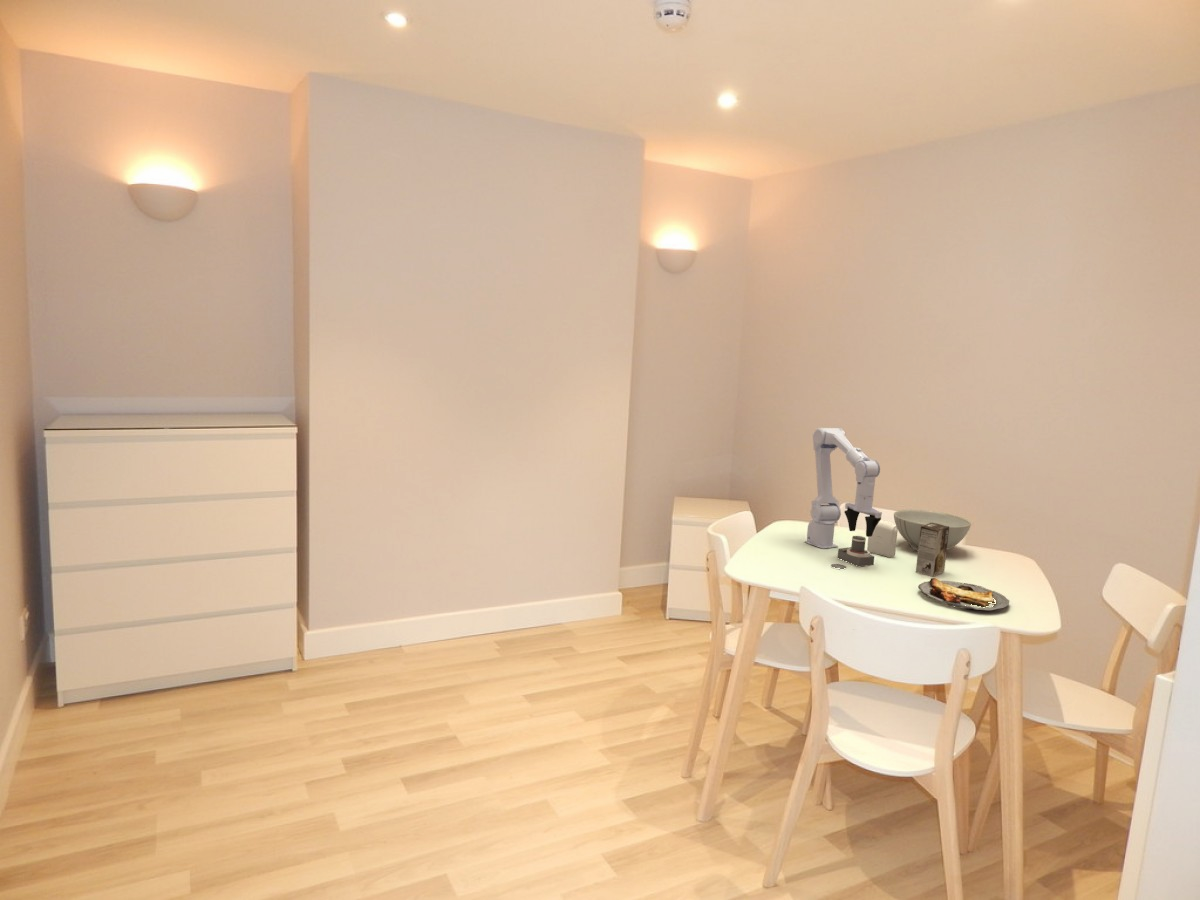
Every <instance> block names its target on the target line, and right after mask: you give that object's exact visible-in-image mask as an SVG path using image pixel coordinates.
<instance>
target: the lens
mask: <svg viewBox="0 0 1200 900" xmlns="http://www.w3.org/2000/svg"><path fill="white" fill-rule="evenodd" d="M866 541H867V537H865V536H862V535H852V537H851V546H850V547H851V552H854V553H858V554H864V552H865V551H864V550H866V549H865V548H866Z"/></svg>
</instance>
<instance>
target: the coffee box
mask: <svg viewBox="0 0 1200 900" xmlns="http://www.w3.org/2000/svg"><path fill="white" fill-rule="evenodd" d="M948 534H949V526H944V525H941V524H937V523H929V524H926V525H924V526H921V531H920V539H919V548H918V551H917V557H916V565H915V573H917V574H921V575H924V576H928V577H931V578H935V577H936V576H938V575H940V574H942V573H944V572H945V568H946V560H947V559H946V558H947V550H948V549H947V543H948Z"/></svg>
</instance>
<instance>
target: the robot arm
mask: <svg viewBox="0 0 1200 900" xmlns="http://www.w3.org/2000/svg"><path fill="white" fill-rule="evenodd" d="M812 441H813V442H812V443H813V450H814V454H815V455H814V456H815V470H816V486H817V487H816V488H817V496H816V497H815V498H814V500H812V501H811V509H810V517H811V520H810V521H809V522H808V525H807V531H806V532H807V533H806V540H805V541H804V543H806V544H808V545H811V546H815V547H818V548H820V549H830V548H838V547H839V546H838V545H837V544H835V543H834V537H835V536H834V535H835V524H837V522H838V521H839V520H840V518H841V515H842V509H841V508H840V502H839V500H838V499H837V498H836V497H835V496H833V484H832V483H833V481H832V468H831V467H832V466H831V465H832V464H831V454H832V453H833V451H835V450H837V448H838V449H840V450H841V451H842V452H843V453H844V454H845V458H846V461H848V462H849V464H850V465H852V467H853V468H854V474H855V479H856V480H855V481H856V482H857V483H856V491H855V499H854V501H855V502H854V503H851V502H846V503H845V505H844V506H845V508H844V509H846V510H844V515H845V517H846V520H847V523H848V530H849V531H850V532H855V531H856V528H857V523H858V518H859V516H860V513H861V514H865V515H867V516H864V518H865V525H866V530H865V536H866V538H868V537H871V536H872V534H873V532H874V529H875V527H876V526H877V524H878V523H879V521H880V520H882V514H883V513H882V511H879V510H877V509H875V508H873V503H874V494H875V485H876V478H877V477H879V475H880V473H881V465H880V463H879V462H878V461H877V460H875V459H870V458H869V456H868V455H866V454H865V453H864V452H863V450H862V449H861V448H860V447H854V446H853V445H852V443H851V442H850V441H849V439H848V438H847V437H846V432H845V431H844V429H843V428H841V427H835V428H834V427H817V428H816V429H815V430H814V432H813V434H812Z"/></svg>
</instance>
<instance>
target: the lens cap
mask: <svg viewBox="0 0 1200 900" xmlns="http://www.w3.org/2000/svg"><path fill="white" fill-rule="evenodd" d="M831 566H832V567H835V568H840V569H844V568H846V569H847V566H846V565H845V564H842V563H831V564H830V567H831ZM832 567H831V568H832ZM840 569H839V570H840ZM844 570H845V569H844Z"/></svg>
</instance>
